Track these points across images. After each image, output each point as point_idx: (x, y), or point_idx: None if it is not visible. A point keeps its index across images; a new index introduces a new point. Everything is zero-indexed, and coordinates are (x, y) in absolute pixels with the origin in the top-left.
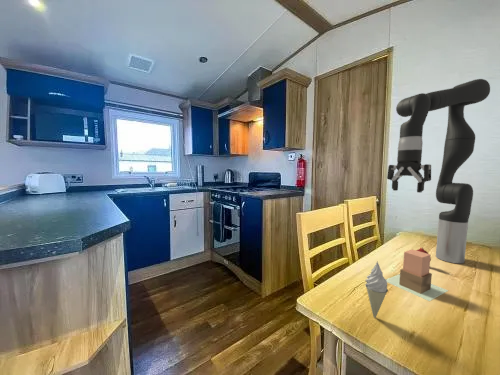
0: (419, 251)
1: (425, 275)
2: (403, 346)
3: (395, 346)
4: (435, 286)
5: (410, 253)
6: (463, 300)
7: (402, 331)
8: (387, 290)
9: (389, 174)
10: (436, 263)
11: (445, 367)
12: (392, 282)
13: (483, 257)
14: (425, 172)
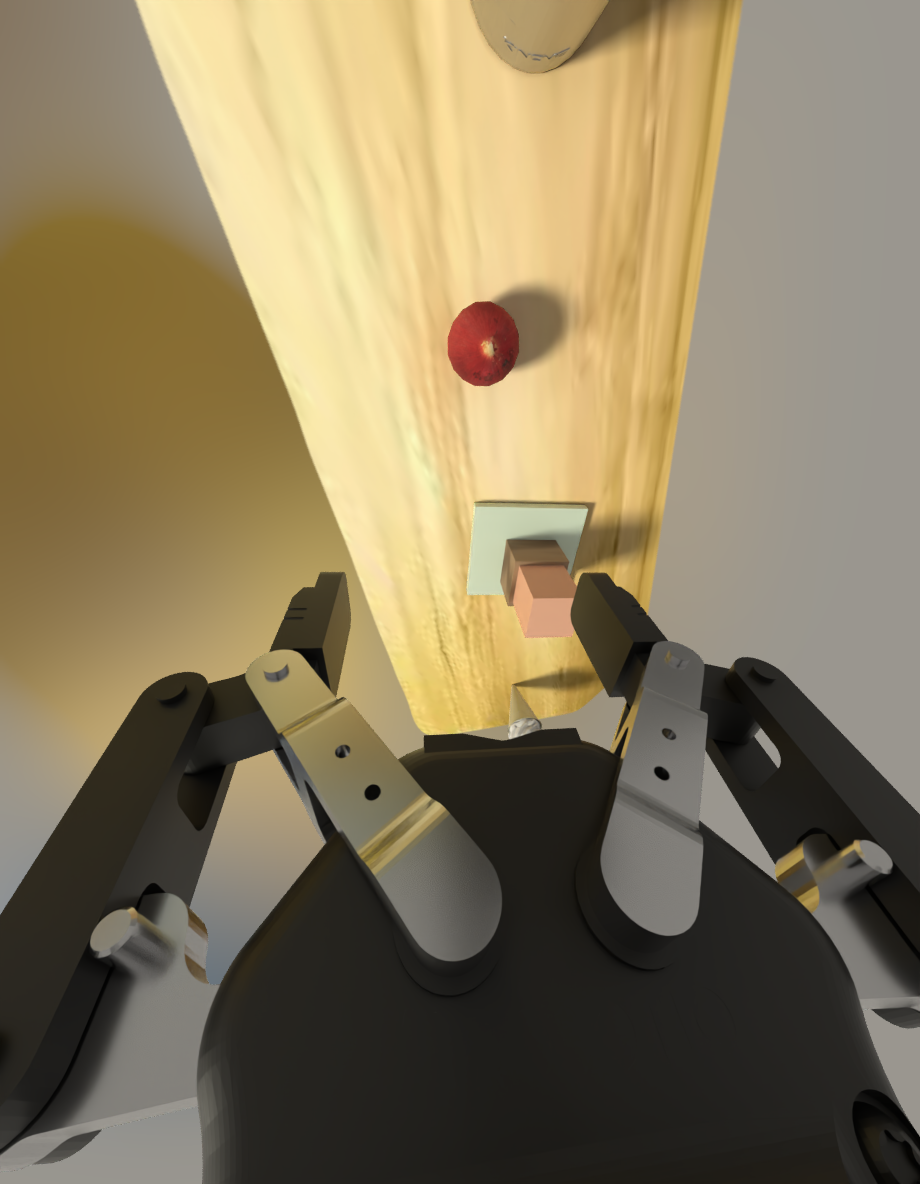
0: (554, 599)
1: None
2: (559, 697)
3: (553, 703)
4: (561, 514)
5: (541, 635)
6: (613, 505)
7: (550, 679)
8: (539, 721)
9: (195, 824)
10: (506, 193)
11: (599, 688)
12: (485, 585)
13: None
14: (775, 830)
